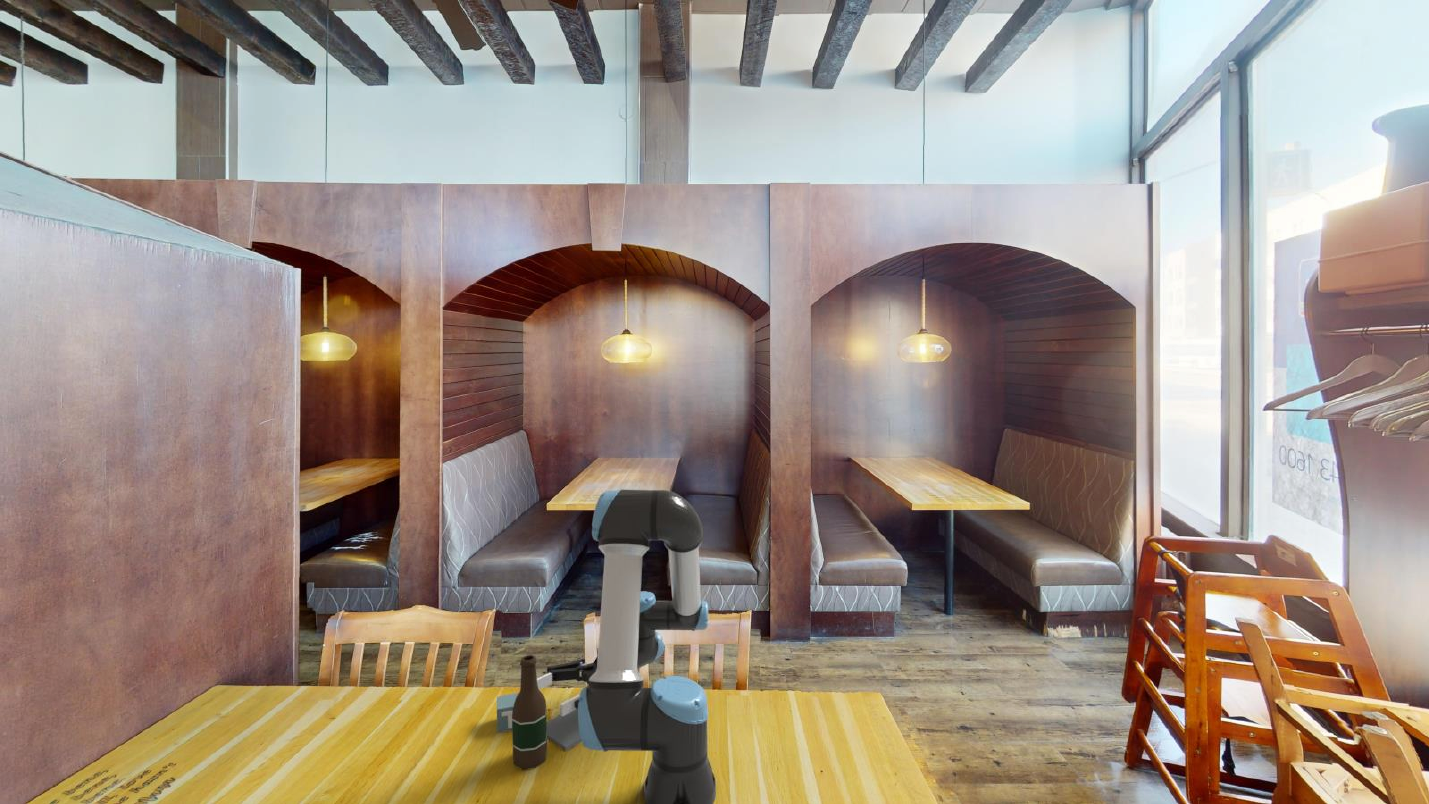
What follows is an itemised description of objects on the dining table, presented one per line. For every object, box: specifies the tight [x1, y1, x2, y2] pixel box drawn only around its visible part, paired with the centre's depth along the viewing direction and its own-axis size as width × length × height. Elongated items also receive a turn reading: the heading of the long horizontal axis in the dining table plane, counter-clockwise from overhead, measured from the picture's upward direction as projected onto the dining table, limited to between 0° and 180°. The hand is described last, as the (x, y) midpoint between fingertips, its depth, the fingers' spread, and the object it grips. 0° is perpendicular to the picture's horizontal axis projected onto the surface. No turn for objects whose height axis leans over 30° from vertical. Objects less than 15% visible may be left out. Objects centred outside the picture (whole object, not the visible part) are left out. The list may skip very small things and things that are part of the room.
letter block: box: [496, 692, 519, 733], centre depth 149 cm, size 6×6×6 cm
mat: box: [547, 709, 582, 751], centre depth 147 cm, size 12×12×1 cm
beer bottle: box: [511, 654, 548, 770], centre depth 135 cm, size 8×8×24 cm
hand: (544, 699), depth 138 cm, fingers open, 13 cm apart
